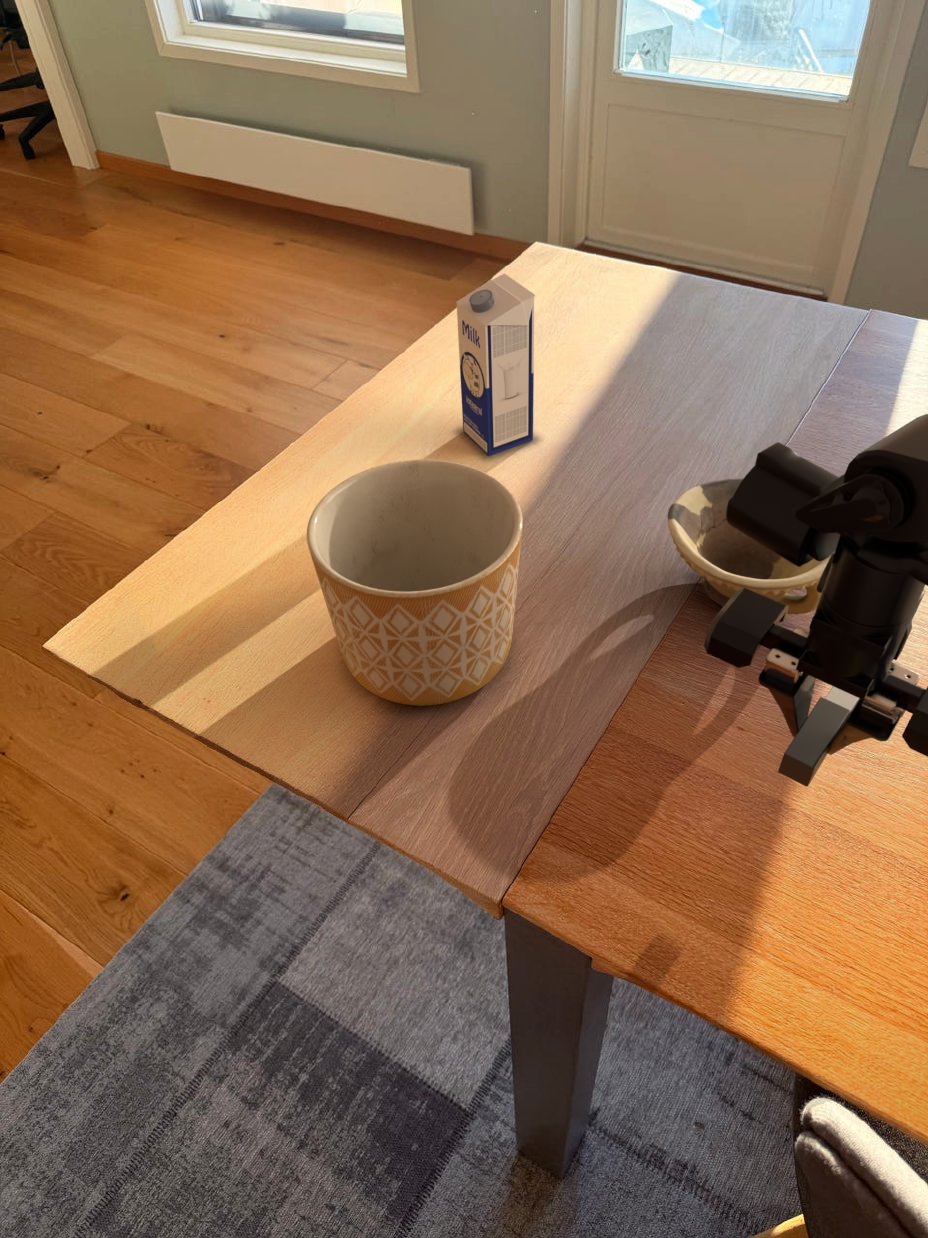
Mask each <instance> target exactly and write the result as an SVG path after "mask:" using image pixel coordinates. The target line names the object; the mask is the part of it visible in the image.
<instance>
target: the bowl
mask: <svg viewBox="0 0 928 1238" xmlns="http://www.w3.org/2000/svg"><path fill="white" fill-rule="evenodd" d="M743 479H744V477H743V478H742V477H741V478H739V477H738V478H724V479H716V480H715V479H714V480H711V481H708V482H704V483H701V484H698V485H696V486H695V487H691V488H690V489H688V490H686V491H685V492H683V493H682V494H681V495H679V497H677V498H676V500H675V501H673V503H672V504H671V505H670V507H669V508H668V512H667V527H668V529H669V530H668V531H669V533H670V537H671V538H672V542H673V544H674V545H675V549H676V551H677V552H678V553H679V556H680V558H682V559H683V560H684V563H686V564H687V565H688V566H689V568H691V570H693V571H694V572H695V573H696V574H698V575H699V576H700V578H702V581H703V582H702V583H703V584H702V586H703V588H704V591H705V593H706V595H707V596H708V597H709V599H711V600H712V601H713V602H715V603H716V604H718V605H720V606H721V607H722V608H723V607H724V605H725V604H726V603H727V602H728V600H729V599H730V598H731V597H732V595H733V594H734V593H735V592H736V591H739V590H741V589H743V588H747V589H749V590H751V591H754V592H756V593H758V594H761V595H763V596H765V597H768V598H770V599H773V600H775V601H777V602H780V603H782V604H784V605H787V606H788V607H789V609H788V612H787V615H805V614H808V613H811V612H813V611H816V609H817V606H818V602H819V599H820V596H821V593H819V592H817V590H816V589H817V585H818V583H819V580H820V578H821V575H822V573H823V571H824V569H825V567H826V565H827V563H828V561H829V559H830V557H831V555H830V556H829V557H828V558H827V559H825V560H823V561H817V560H815V559H812V560H811V561H810V562H808V563H806V564H804V565H802V566H801V567H798V566H796V565H794V564H792V563H790V562H789V561H787V560H786V559H784V558H782V557H781V556H779V555H777V554H776V553H774V552H772V551H771V550H769V549H768V548H766V547H764V546H763V545H761V544H759V543H758V542H756V541H755V540H753V539H751V538H750V537H748V536H746V535H745V534H743V533H742V532H740V531H738V530H737V529H735V528H733V527H732V526H730V525H729V524H728V522H727V518H726V510H727V505H728V502H729V500H730V499H731V498H732V497H733V496H734V494H735V492H736V490H737V488H738V486H739V485H740V483H741V482H742V480H743ZM804 589H805V590H806V595H795V594H790V592H792V591H802V590H804Z"/></svg>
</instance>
